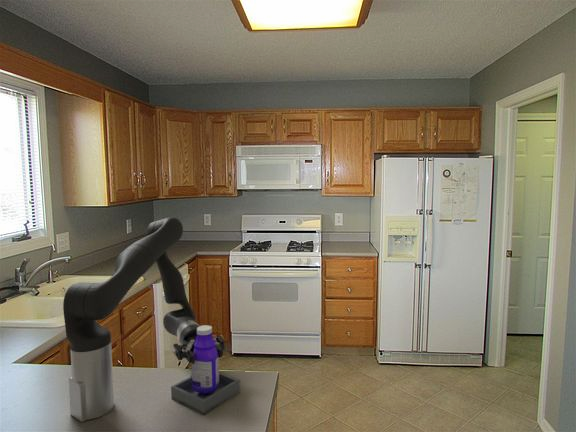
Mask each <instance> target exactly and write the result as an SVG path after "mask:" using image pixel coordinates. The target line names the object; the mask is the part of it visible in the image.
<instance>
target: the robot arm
mask: <svg viewBox="0 0 576 432" xmlns="http://www.w3.org/2000/svg"><path fill="white" fill-rule="evenodd" d="M183 227H184V226H183V224H182V222H181V221H180V220H179V218H176V217H173V216H171V217H170V216H169V217H165V218H161V219H158V220H155V221H152V222H150V223H149V225H148V226H147V229H146V230H147V231H146V232H147V236H145V237H142V238H140V239H139V240H137V241H135V242H133V243H132V244H130V245H129V246H127V247H126V248H125V249H124V250H123V251H121V253H119V254H118V256H117V258H116V259H115V260H116V261H115V263H114V264H115V265H114V266H115V268H114V269H115V271H114V272H115V273H114V274H113V275H112V276H111V277H110V278H108V279H107V280H105V281H103V282H102V281H101V282H75V283H73V284H71V285H70V286H69V287H68V288H67V290H66V291H65V294H64V298H63V302H62V305H63V308H62V309H63V320H64V326H65V336H66V339H67V342H68V343H69V347H70V364H71V366H70V367H71V376H70V377H69V378H68V392H69V393H68V394H69V410H70V412H69V413H70V415H71V416H73V417H74V418H75V419H77V420H78V421H80V423H81V422H82V423H83V422H85V421H88V420H92V419H97V418H100V417H102V416H105V415H106V414H108V413H109V412H111V411H112V410H113V409H114V406H115V399H114V398H115V395H114V376H113V375H114V372H113V358H112V357H113V356H112V355H113V354H112V353H113V352H112V337H111V336H112V335H111V330H109V329H108V328H107V327H105V326H102V325H101V324H100V323H99V322H97V321H100V320H101V321H102V320H104V319H107V318H108V317H109V316H110V315H112V313H114V311H115V310H116V309H117V307H118V306H119V304H120V303H121V302H122V300H123V299H124V298H125V296H126V295H127V293H128V292H129V291H130V290H131V288H132V287H133V286H134V285H135V284H137V282H138V281H139V279H141V277H143V275H145V274H146V273H147V272H148V270H150V269H151V267H152V266H153V265H154V264H155V263H156V266H157V268H158V271H159V275H160V278H161V283H162V288H163V289H162V290H163V295H164V300H165V303H166V304H168V305H172V304H173V305H179V306H180V307H181V308H180V309H174V310H171V311H168V312H166V314H165V315H164V316H163V321H162V322H163V326H164V329H165V330H166V332H168V333H169V334H171V335H173V336H175V337H177V341H178V342H179V343H180V344H178V343H174V344H173V354H174V356H175V357H176V359H177V360H178V361H182V360H184V359H185V360H187V362H188V363H189V364H191V365H192V364H195V357H194V355H193V351H194V348H195V346H194V343H195V341H196V338H197V328H198V327H200V326H201V325H200V324H199V323H197V322H196V315H195V312H194V309H192V306H191V305H190V302H189V300H188V297H187V294H186V290H185V283H184V280H183V275H182V273H181V272H180V270H179V269H178V268H177V267H176V266H175V264H174V262H172V260H171V259H170V257H169V255H168V253H167V251H168V249H169V248H171V247H172V246H174V245H175V244H177V242H179V241H180V240H181V238H182V236H183V233H184V228H183ZM213 338H214V340H215V347H216V349H217V351H218V355H219V359H220V358H222V357H223V355H224V351H225V349H226V347H225V346H226V344H225V342H226V341H225V340H224V338H223V336H222V335H220V334H216V335H215V337H213Z"/></svg>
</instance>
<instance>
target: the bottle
mask: <svg viewBox="0 0 576 432" xmlns="http://www.w3.org/2000/svg"><path fill="white" fill-rule="evenodd" d="M214 338H215V337H214V336H213V327H212V326H211V325H204V324H203V325H200V327H198V328H197V338H196V341H195V343H194V346H195V348H194V351H193V355H194V357H195V364H191V376H192V386H193V389H194V391H196V392H199V393H212V392H214V391H215V390H216V389H217V387H218V385H219V372H220V358H219V355H218V351H217V349H216V347H215V340H214Z"/></svg>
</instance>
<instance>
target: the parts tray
mask: <svg viewBox="0 0 576 432" xmlns="http://www.w3.org/2000/svg"><path fill="white" fill-rule="evenodd" d="M240 387H241V385H240V379H237V378H235V377H234V376H233V377H232V376H230V375H227V374H225V373H222V372H221V371H219V385H218V387H217V389H216V390H215V391H214V392H212V393H199V392H196V391H194V389H193V386H192V375H191V376H189V377H186V378H185V379H183V380H181V381H180V382H177V383H175V384H174V385H171V386H170V389H171V390H170V392H171V400H172V401H175V402H176V403H179V404H180V405H183V406H184V407H187V409H191V410H192V411H194V412H196V413H199V414H200V415H203V416H205V415H207V414H208V413H210V412H211V411H213V410H214V409H216V408H217V407H219V406H221V405H222V404H224V403H226V402H227V401H229V400H231V399H232V398H233V397H235V396H236V395H238V394H240V393H241V392H240V391H241V388H240Z"/></svg>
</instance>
